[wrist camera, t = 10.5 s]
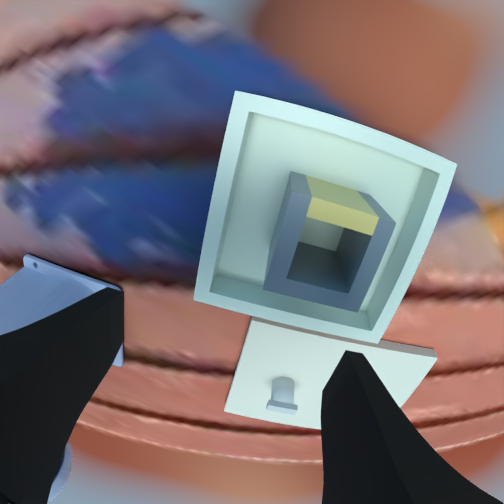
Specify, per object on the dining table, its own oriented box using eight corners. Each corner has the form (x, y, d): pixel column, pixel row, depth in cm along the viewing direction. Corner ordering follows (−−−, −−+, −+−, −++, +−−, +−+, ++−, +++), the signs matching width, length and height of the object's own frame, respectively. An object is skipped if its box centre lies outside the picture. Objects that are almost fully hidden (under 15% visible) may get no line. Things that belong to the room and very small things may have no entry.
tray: (204, 277, 20) (193, 299, 17) (243, 94, 15) (235, 90, 13) (369, 318, 20) (377, 343, 17) (435, 156, 15) (457, 164, 13)
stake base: (225, 402, 24) (218, 434, 21) (253, 310, 20) (246, 346, 17) (375, 426, 24) (380, 456, 21) (433, 349, 20) (448, 381, 17)
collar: (343, 267, 18) (357, 312, 14) (269, 247, 18) (262, 289, 14) (370, 195, 16) (396, 223, 12) (290, 171, 16) (291, 191, 12)
